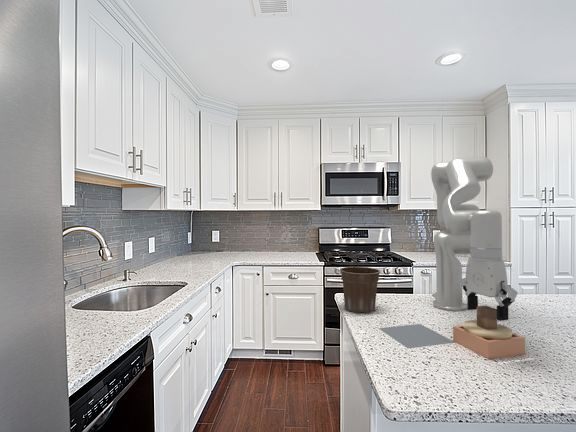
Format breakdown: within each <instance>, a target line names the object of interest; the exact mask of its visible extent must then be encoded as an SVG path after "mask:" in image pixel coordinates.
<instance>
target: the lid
mask: <svg viewBox="0 0 576 432" xmlns="http://www.w3.org/2000/svg"><path fill="white" fill-rule="evenodd" d="M462 325H463V329H464V330H465V331H466V332H468V333H470V334H472V335H475V336H478V337H482V338H487V339H495V340H506V339H510V338H512V333H513V329H511V327H508V326H505V325H504V324H500V323H498V320H497V308H494V307H492V306H488V305H480V306H479V305H478V307H477V309H476V319H474V320H471V319H470V320H466V321H464V322H463V323H462Z"/></svg>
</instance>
